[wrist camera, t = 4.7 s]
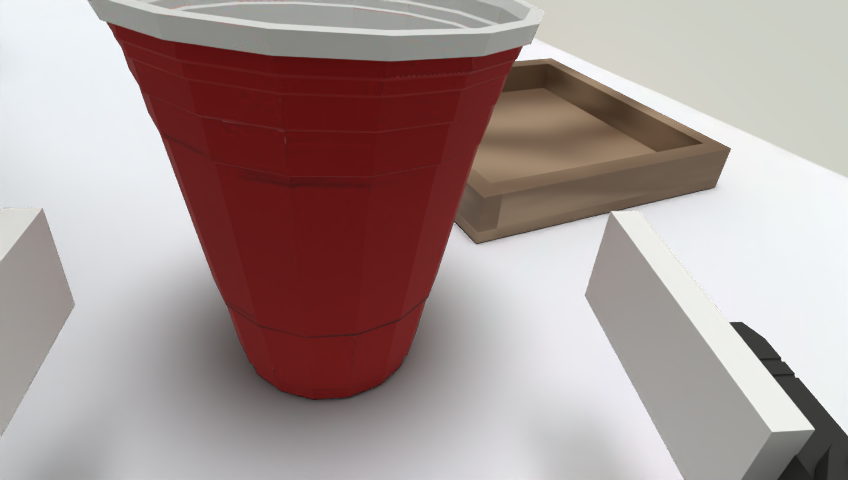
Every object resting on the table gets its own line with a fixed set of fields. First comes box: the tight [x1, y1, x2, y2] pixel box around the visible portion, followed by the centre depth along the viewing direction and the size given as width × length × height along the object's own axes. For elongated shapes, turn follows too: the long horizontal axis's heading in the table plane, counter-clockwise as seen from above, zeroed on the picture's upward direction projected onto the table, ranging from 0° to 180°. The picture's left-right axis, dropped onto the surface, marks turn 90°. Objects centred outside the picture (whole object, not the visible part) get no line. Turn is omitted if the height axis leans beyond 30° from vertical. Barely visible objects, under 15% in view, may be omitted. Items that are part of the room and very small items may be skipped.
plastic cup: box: [88, 0, 545, 399], centre depth 18 cm, size 11×11×12 cm
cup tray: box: [454, 58, 731, 244], centre depth 35 cm, size 16×16×2 cm
